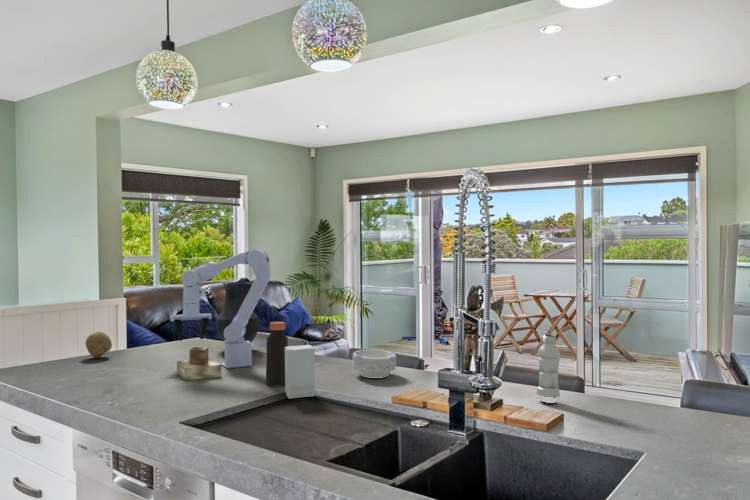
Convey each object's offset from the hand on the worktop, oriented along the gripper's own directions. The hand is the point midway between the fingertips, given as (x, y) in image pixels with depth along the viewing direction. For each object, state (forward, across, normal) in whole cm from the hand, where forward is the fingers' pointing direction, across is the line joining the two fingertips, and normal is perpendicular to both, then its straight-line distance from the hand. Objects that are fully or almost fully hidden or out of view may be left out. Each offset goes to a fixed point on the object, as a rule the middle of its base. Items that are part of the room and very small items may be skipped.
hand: (190, 339), depth 210 cm
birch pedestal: (+9, +1, +16) cm, 18 cm away
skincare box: (+10, -19, +56) cm, 60 cm away
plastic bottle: (+10, -81, +97) cm, 127 cm away
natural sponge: (+10, +28, -28) cm, 41 cm away
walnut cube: (+5, +1, +16) cm, 17 cm away
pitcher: (+10, -25, -21) cm, 34 cm away
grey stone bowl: (+10, -52, +45) cm, 69 cm away
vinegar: (+10, -18, +40) cm, 45 cm away
